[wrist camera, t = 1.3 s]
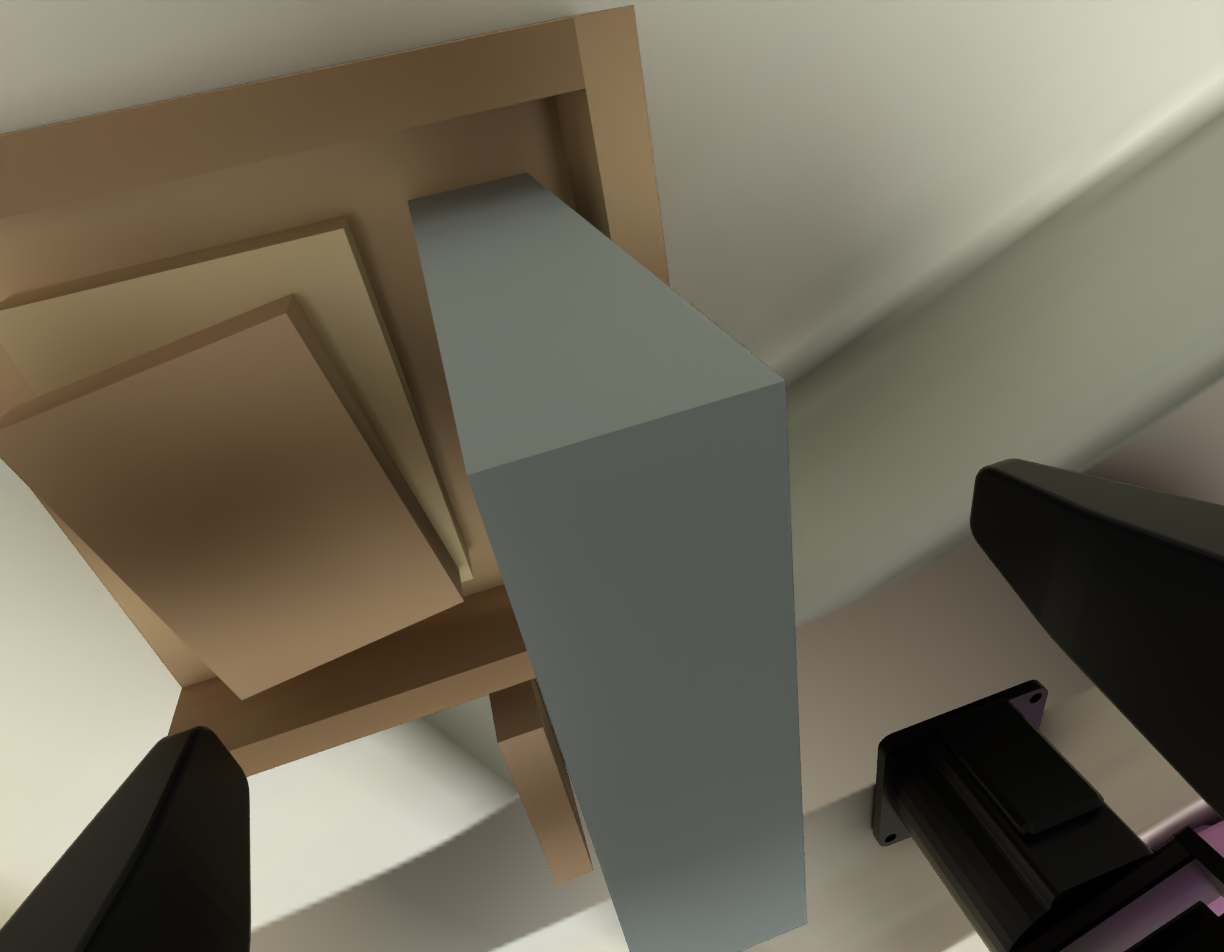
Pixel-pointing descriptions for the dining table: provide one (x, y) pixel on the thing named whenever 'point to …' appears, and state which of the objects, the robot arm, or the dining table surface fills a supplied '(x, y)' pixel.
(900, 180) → the dining table surface
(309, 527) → the offcut top
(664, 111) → the dining table surface
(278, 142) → the tray
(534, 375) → the grey rectangular slab
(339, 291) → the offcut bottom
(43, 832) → the dining table surface
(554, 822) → the holder
